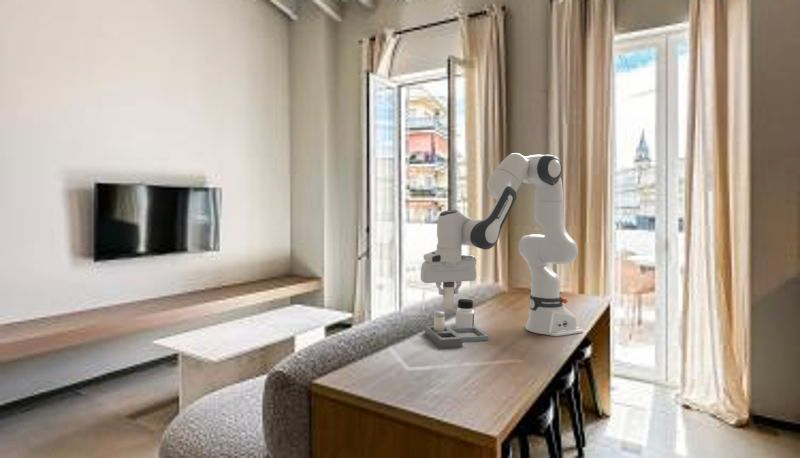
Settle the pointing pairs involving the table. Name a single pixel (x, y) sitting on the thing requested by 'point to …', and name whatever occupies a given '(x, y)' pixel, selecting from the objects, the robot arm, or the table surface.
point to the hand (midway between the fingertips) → (448, 294)
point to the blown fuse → (448, 295)
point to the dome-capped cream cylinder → (439, 320)
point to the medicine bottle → (464, 314)
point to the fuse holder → (443, 338)
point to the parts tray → (471, 338)
